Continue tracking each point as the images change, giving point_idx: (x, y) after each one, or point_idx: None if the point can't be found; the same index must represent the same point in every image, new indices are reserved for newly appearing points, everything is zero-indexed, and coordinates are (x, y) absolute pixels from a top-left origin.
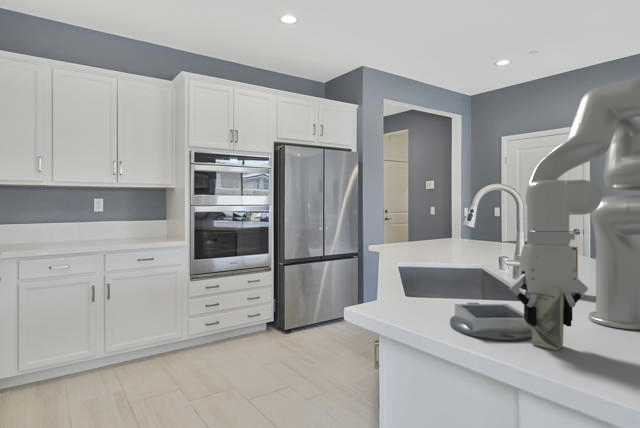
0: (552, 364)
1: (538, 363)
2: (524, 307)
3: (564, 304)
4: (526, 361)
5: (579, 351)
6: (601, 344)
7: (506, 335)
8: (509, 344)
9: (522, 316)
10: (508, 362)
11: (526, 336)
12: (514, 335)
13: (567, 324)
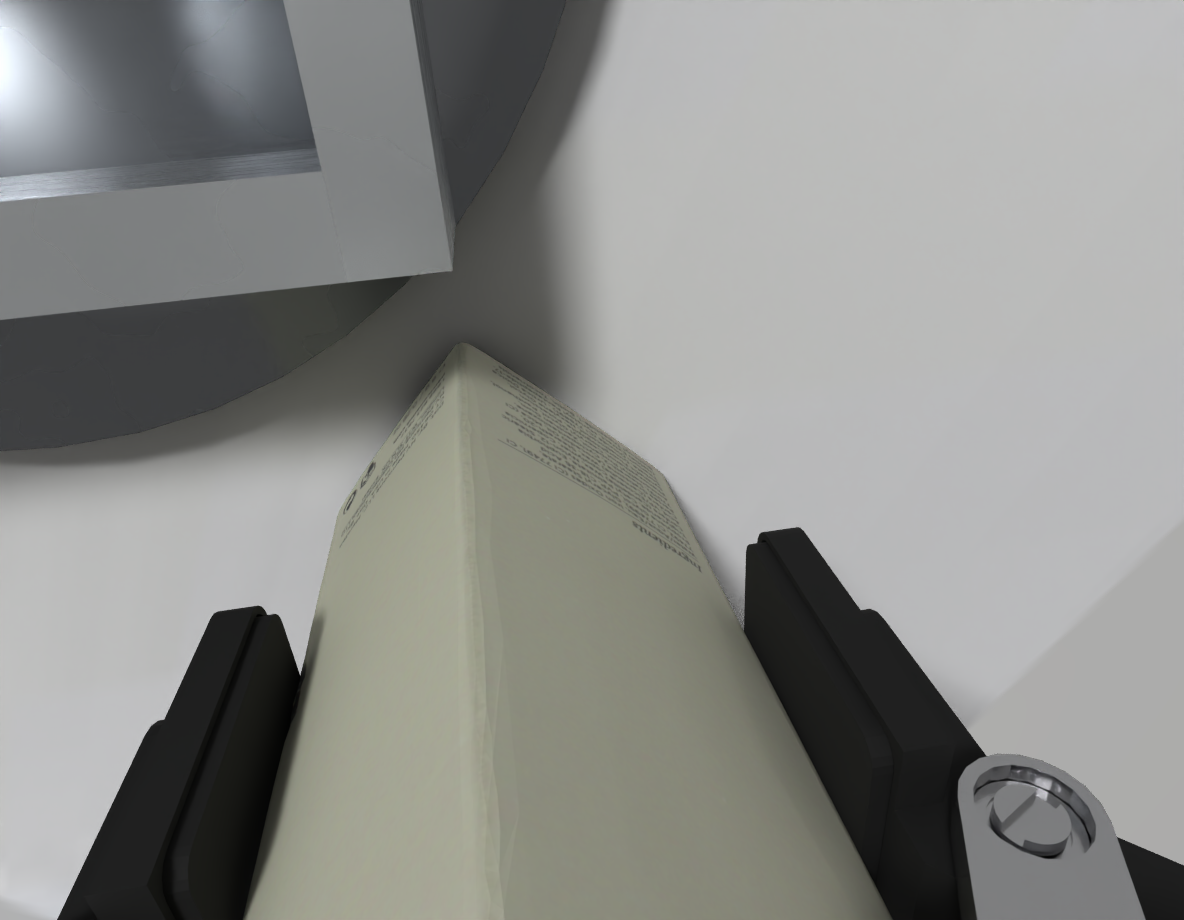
0: None
1: None
2: (71, 918)
3: (897, 893)
4: None
5: (736, 584)
6: (1072, 377)
7: (28, 398)
8: (88, 512)
9: (290, 12)
10: (46, 882)
11: (321, 346)
12: (145, 386)
13: None
